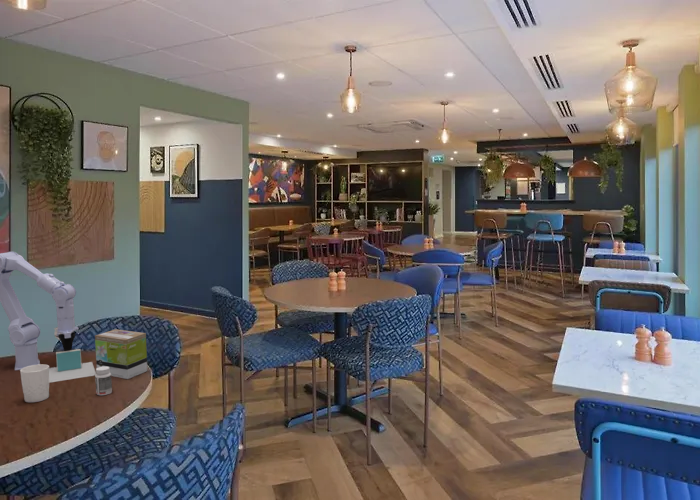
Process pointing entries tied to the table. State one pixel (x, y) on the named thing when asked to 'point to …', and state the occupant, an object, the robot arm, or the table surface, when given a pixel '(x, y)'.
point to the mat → (72, 373)
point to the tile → (68, 360)
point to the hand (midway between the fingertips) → (67, 352)
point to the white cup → (35, 382)
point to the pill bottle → (103, 381)
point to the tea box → (122, 352)
